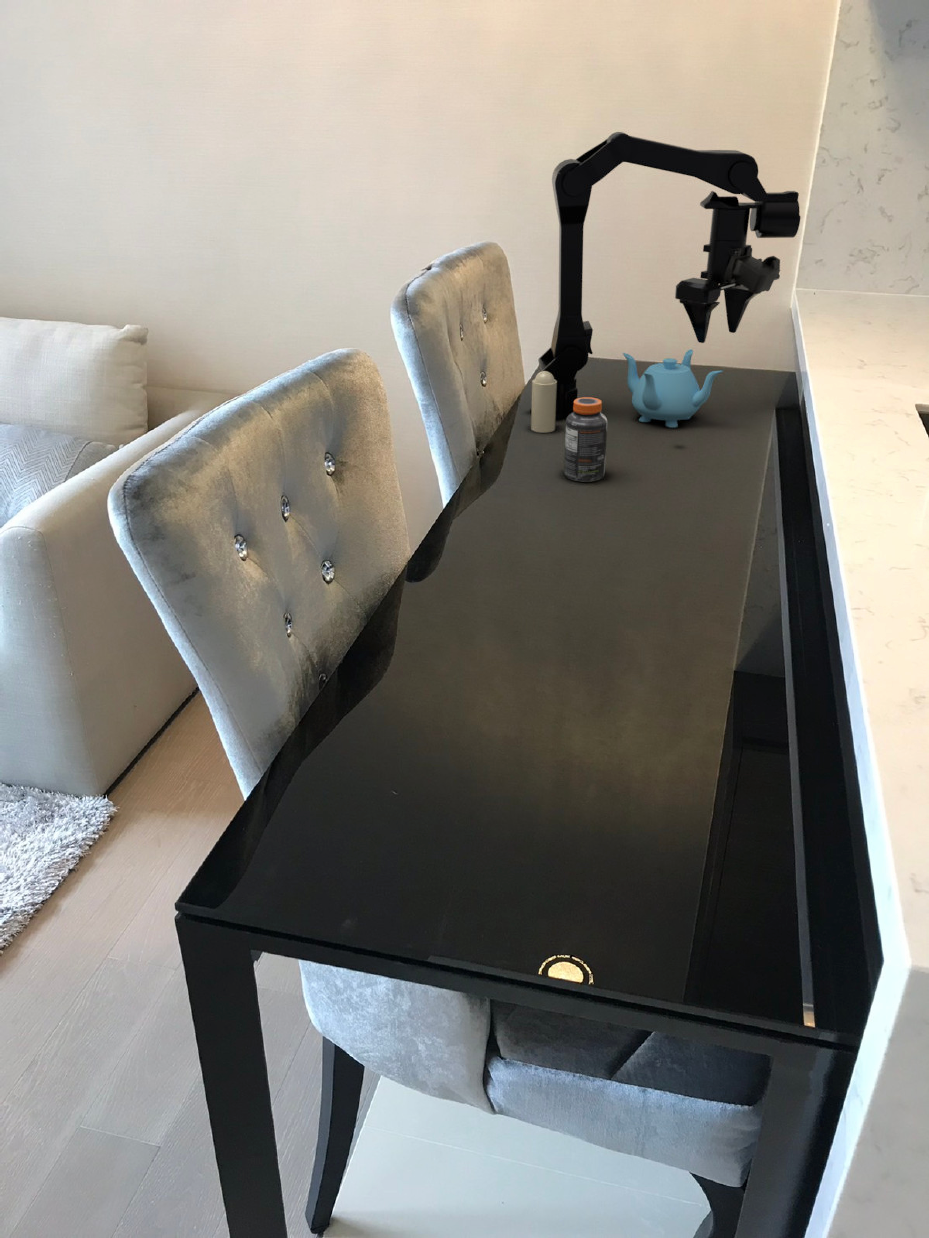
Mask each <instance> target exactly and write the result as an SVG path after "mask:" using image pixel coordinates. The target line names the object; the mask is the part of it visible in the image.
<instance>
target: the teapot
mask: <svg viewBox="0 0 929 1238" xmlns="http://www.w3.org/2000/svg"><path fill="white" fill-rule="evenodd" d="M693 353H694V350H693V349H688V350H687V351H686V352H685V354H684V355H683V359H682V361H681V364H680V363H678V360H677V359H675V358H672V357H671V358H668V357H667V358H664V359H663V360H662V362H658V363H654V364H651V365H650V366H648V367H647V368H646V370H644V372H643V374H642V375H641V376H640V377H639V375H638V368H637V362H636V359H635V357H633V356H632V355H630V354H628V353H626V352H622V355H623V357H624V358H625V359H626V362H627V365H628V368H627V369H628V371H627V377H626V378H627V379H626V383H627V389H628V390H629V392H630V393H631V395H632V398H631V405H632V406H633V408H634V409H635V410H636V412H637V413H638V414H639V415H641V416H640V418H639V419H638V421H639V422H641V423H650V422H651V421H652V420H659V421H665V427H668V428H677V427H678V421H681V420H684V421H685V420H690V419H691V417H692V416H693V415H695V414H696V413H697V412H698V410H699V409H700V408H701V406H702V405H704V404H705V403H706V402H707V400H708V399H709V397H710V395H711V391H712V387H713V383H714V380H715V378H716V377H717V376H718V375H720V374H721V373H724V370H713V371H710V372H709V373H708V374H707V375H706V377H705V379H704V383H703V386H702V388H701V389H700V385H699V384H698V381H697V379H696V376H695V374H694V373H693V371H692V365H691V364H692V363H691V362H692V356H693Z"/></svg>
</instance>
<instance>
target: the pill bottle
mask: <svg viewBox="0 0 929 1238" xmlns="http://www.w3.org/2000/svg"><path fill="white" fill-rule="evenodd" d="M602 407H603V402H602V400H601V399H599V398H596V397H589V396H587V397H586V396H585V397H577V399H575V400H574V406H573V410H574V412H573V413H571V414H570V415H569V416H567V417H566V419H565V435H564V437H565V439H564V463H563V464H564V465H563V474H564V476H565V477H566V478H567V479H569V480H571V481H576V482H582V483H584V482H585V483H586V482H588V483H589V482H595V481H599V480H601V479H603V478H604V476H605V470H606V456H607V455H606V454H607V452H606V451H607V438H608V419H607V417H606V415H605V414H603V412H602V410H603V408H602Z"/></svg>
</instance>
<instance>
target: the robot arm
mask: <svg viewBox="0 0 929 1238" xmlns="http://www.w3.org/2000/svg"><path fill="white" fill-rule="evenodd" d="M623 163H628V164H632V165H637V166H642V167H647V168H650V169H651V168H652V169H656V170H661V171H664V172H670V173H674V174H680V175H683V176H688V177H693V178H695V179H698V180H700V181H703V182H705V183H707V184H710V185H711V186H714V187H716V188H718V189H721V190H723V191H725V192H728V193H730V194H733V196H732V195H726V196H725V195H723V196H719V194H717V192H715V191H714V190H711V191H710V192H709V194H708V195H707V196H706V197H705V198H704V199H702V200H701V201H700V203H699V206H700V207H701V208H703V209H705V210H712V213H711V214H712V215H711V223H710V224H711V225H710V233H709V242H708V243H707V244H703V248H702V253H703V252H704V253H707V262H706V270H703V271H700V277H690V278H686V279H684V280H683V279H682V280H680V281H679V283H677V284H676V285H675V291H674V298H675V300H679V303H680V304H682V305H683V308H684V310H685V312H686V314H687V316H688V318H689V322H690V324H691V327H692V330H693V332H694V334H695V337H696V340H697V343H701V344H705V342H706V339H707V336H708V332H709V328H710V327H709V326H710V322H711V317H712V312H713V311H714V309H716V308H717V306H719V305H720V303H721V302H720V301H718V300H719V298H720V296H721V291H723V295H724V301H725V302H724V303H725V311H726V312H725V313H726V322H727V328H728V332H729V333H730V334H731V333H732V334H735V333H736V332H737V330H738V328H739V326H740V324H741V321H742V319H743V316H744V314H745V312H746V310H747V307H748V305H749V303H750V301H751V300H753V298H755V297H756V296H757V295H759V294H761V293H763V292H769V291H770V290H771V287H772V286H773V284H774V282H775V281H776V280H779V279H780V272H781V259H780V258H778V257H776V256H775V255H770V256H767V257H765V259H762V258H756V257H754V256H753V247H752V244H747V239H748V230H750V232H755V233H754V234H755V237H756V238H757V239H781V238H783V239H785V238H787V239H790V238H795V237H796V236H797V234H798V232H799V228H800V224H801V215H800V201H799V195H800V194H799V192H798V191H796V190H786V191H781V192H779V191H777V192H767V191H766V188H765V187H764V185H763V183H762V182H761V180H760V179H759V178H758V176H759V165H758V163H757V160H756V159H755V158H754V156H752V155H750V154H747V153H745V152H742V151H740V150H735V149H692V148H689V147H684V146H680V145H675V144H670V143H666V142H661V141H656V140H652V139H648V138H642V137H638V136H634V135H629V134H628V133H625V132H624V131H616V132H613V133H611V134H610V135H609V136H608V137H607V138H606V139H605V140H603V141H601V142H600V143H598V144H597V145H595V146H594V147H592V148H591V149H589V150H587V151H585V152H583V154H581V155H580V156H578V157H577V158H575V159H574V158H569V159H564V160H562V161H561V162H559V163H558V164H557V165H556V167H555V168H554V170H553V171H552V176H551V184H552V190H553V197H554V203H555V209H556V213H557V219H558V226H559V227H558V310H557V316H556V319H555V323H554V327H553V331H552V332H553V333H552V338H551V343H550V344H551V345H550V347H549V348H548V349H547V350H546V351H545V352H544V353H543V354H542V355H541V356H540V357H538V360H537V361H538V365H539V369H540V372H542V371H548V372H550V373H551V374H552V375H553V377H554V379H555V380H556V381H557V394H556V420H562V419H564V418H567V417H568V416H569V415H570V414H571V413H573V412H574V410H573V406H574V400H575V399H578V391H579V389H578V387H577V373H578V372H579V371H581V370H582V369H583V368H584V367H586V365H587V364H588V360H589V355H593V350H592V338H593V331H594V330H593V327H592V325H591V322H590V320H585V321H584V320H583V319H584V318H583V274H584V273H583V269H584V267H583V265H584V227H585V221H586V218H587V213H588V209H589V207H590V206H589V205H590V201H591V194H592V189H593V186H594V185H595V184H597V183H598V182H600V181H602V180H603V179H604V178H605V177H607V176H608V175H609V174H610V173H611V172H612V171H614V170H615V169H616V168H617V167H618V166H619V165H621V164H623ZM736 195H741V196H743V197H745V198H747V199H749V200H751V201H753V202H740V201H739V198H738V196H736ZM529 412H530V413H531V408H530V409H529Z"/></svg>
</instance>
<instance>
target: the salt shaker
mask: <svg viewBox="0 0 929 1238" xmlns="http://www.w3.org/2000/svg"><path fill="white" fill-rule="evenodd" d="M556 394H557V381H556V380H555V379H554V377H553V375H552V374H551V373H550V372H548V371H542V372H541V371H540V372H538V373H537V374H536V375H535V378H534V379H532V380H531V407H530V409H531V412H530V413H531V415H530V430H531V431H533V432H535V433H543V434H544V433H545V434H546V433H551V432H554V431H555V430H556V420H557V419H556Z"/></svg>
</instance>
